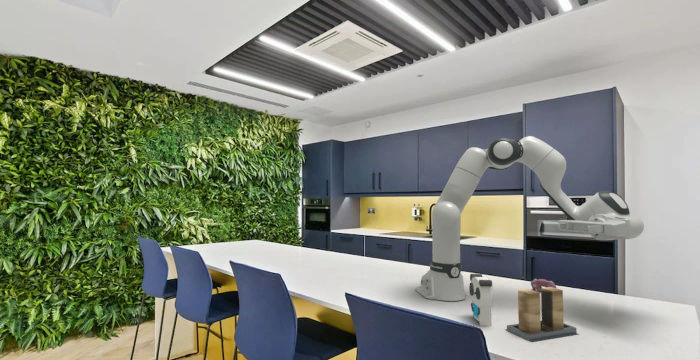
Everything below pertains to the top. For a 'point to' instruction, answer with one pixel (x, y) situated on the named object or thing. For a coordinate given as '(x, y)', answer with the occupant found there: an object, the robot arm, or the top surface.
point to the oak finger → (552, 308)
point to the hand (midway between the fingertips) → (573, 227)
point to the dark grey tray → (543, 333)
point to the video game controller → (541, 284)
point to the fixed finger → (529, 311)
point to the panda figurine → (481, 298)
